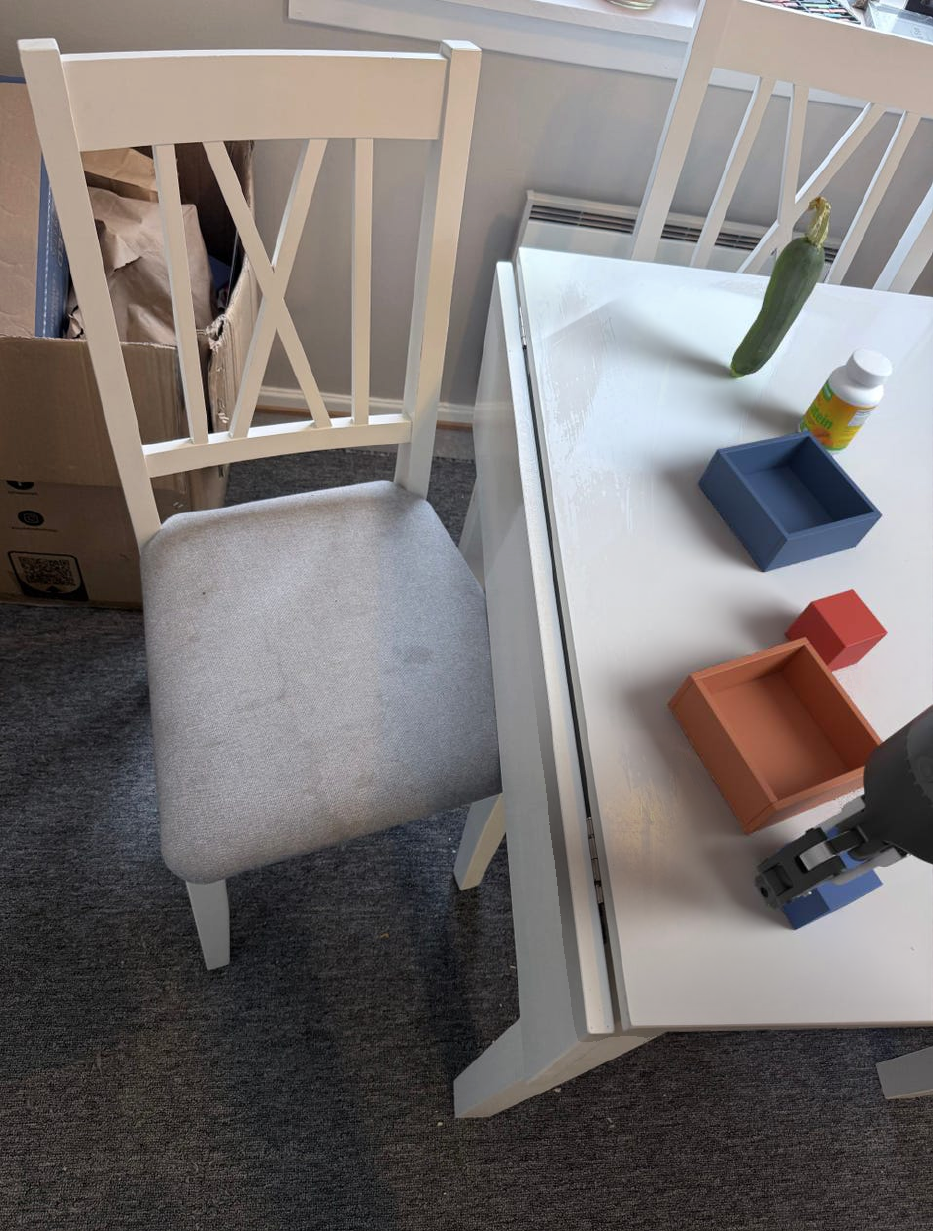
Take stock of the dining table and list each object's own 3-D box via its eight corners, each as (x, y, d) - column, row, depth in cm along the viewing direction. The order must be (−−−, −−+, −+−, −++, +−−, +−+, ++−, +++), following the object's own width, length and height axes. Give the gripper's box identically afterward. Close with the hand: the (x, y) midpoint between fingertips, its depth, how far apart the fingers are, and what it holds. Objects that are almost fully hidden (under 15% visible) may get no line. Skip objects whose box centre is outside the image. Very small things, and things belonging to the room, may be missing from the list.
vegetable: (764, 384, 92) (866, 207, 76) (744, 399, 89) (844, 221, 73) (732, 362, 93) (824, 184, 77) (711, 376, 91) (802, 196, 75)
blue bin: (856, 547, 79) (883, 514, 75) (763, 572, 75) (787, 540, 71) (787, 463, 84) (809, 430, 81) (697, 483, 80) (716, 449, 77)
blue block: (845, 905, 58) (883, 884, 54) (794, 930, 56) (830, 910, 52) (806, 844, 60) (840, 820, 56) (756, 866, 58) (787, 843, 55)
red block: (857, 663, 71) (888, 632, 67) (816, 677, 69) (845, 647, 65) (824, 620, 73) (853, 588, 69) (784, 633, 71) (811, 601, 68)
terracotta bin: (863, 787, 64) (897, 761, 60) (747, 835, 60) (777, 811, 56) (778, 666, 69) (805, 636, 65) (667, 704, 65) (689, 673, 61)
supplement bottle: (786, 423, 88) (834, 346, 80) (825, 416, 90) (875, 340, 82) (816, 459, 85) (869, 383, 78) (855, 451, 87) (911, 376, 80)
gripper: (931, 887, 38) (765, 967, 51) (1122, 790, 44) (927, 885, 57) (832, 745, 42) (700, 854, 55) (1020, 671, 47) (858, 786, 60)
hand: (815, 870), depth 56 cm, fingers open, 8 cm apart
